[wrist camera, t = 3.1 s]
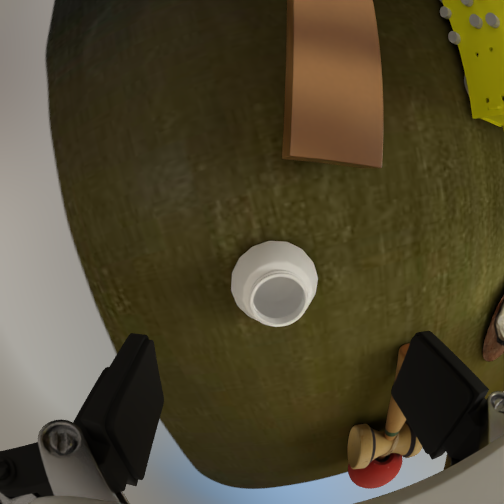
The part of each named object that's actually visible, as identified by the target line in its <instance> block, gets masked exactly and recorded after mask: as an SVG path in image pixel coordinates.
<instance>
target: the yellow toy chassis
mask: <svg viewBox="0 0 504 504" xmlns="http://www.w3.org/2000/svg"><path fill="white" fill-rule="evenodd" d="M440 1H441V2H442V3H443V5H444V6H443V7H441V9H440V15H441V16H442V17H444V18H446V19H449V20H450V23H451V26H452V29H453V31H450V32H449V35H448V38H449V41H450V42H451V43H453V44H456V45H457V44H458V48H459V51H460V55H461V59H462V63H463V67H464V71H465V76H464V84H465V88H466V91H467V93H468V95H469V97H470V103H471V110H472V118H473V119H477V118H480V119H483V120H485V121H487V122H490V123H492V124H494V125H497V126H499V127H501V125H502V126H503V130H504V0H440ZM477 53H478V54H479V55H478V57H477Z"/></svg>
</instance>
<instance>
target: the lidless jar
mask: <svg viewBox="0 0 504 504" xmlns="http://www.w3.org/2000/svg"><path fill="white" fill-rule="evenodd" d="M317 281H318V277H317V273H316V269H315V266H314V263H313V261H312V260H311V259H310V258H309V257H308V255H307V254H306V253H305V252H304V251H303V250H302V249H301V248H299V247H297V246H295V245H293V244H291V243H289V242H284V241H267V242H264V243H261V244H258V245H255V246H252V247H251V248H250V249H249V250H248V251H247V252H246V253H244V254H243V255H242V256H241V257H240V258H239V260H238V262H237V264H236V266H235V268H234V270H233V272H232V283H231V292H232V294H233V297H234V299H235V301H236V304H237V306H238V307H239V308H240V309H241V310H242V311H244V312H245V313H246V314H247V315H248V316H249V317H251V318H253V319H255V320H257V321H259V322H261V323H263V324H265V325H268V326H273V327H281V326H286V325H289V324H292V323H294V322H295V321H297V320H298V319H299V318H300V317H301V316H302V315H303V314H304V312H305V311H306V309H307V307H308V306H309V304H310V302H311V301H312V299H313V297H314V296H315V294H316V288H317Z"/></svg>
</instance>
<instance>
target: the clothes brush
mask: <svg viewBox="0 0 504 504" xmlns="http://www.w3.org/2000/svg"><path fill="white" fill-rule="evenodd" d="M382 156H383V85H382V68H381V56H380V46H379V37H378V30H377V23H376V16H375V10H374V4H373V0H287V44H286V80H285V107H284V130H283V150H282V159H287V160H299V161H309V162H318V163H327V164H335V165H342V166H349V167H356V168H382Z"/></svg>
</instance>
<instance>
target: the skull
mask: <svg viewBox="0 0 504 504" xmlns="http://www.w3.org/2000/svg"><path fill="white" fill-rule="evenodd" d="M496 308H497V309H496V311H495V312H494V315H493V317H492V321H491V323H490V326H489V328H488V332H487V335H486V337H485V341H484V345H483V346H484V347H483V351H482V352H483V357H484V359H485V360H486V361H488V362H489V361H493V360H494V359H496V358H498V357H499V356H501V354H503V353H504V295H503V297H502V299H501V301H500V302H499V304H498V306H497V307H496Z"/></svg>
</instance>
